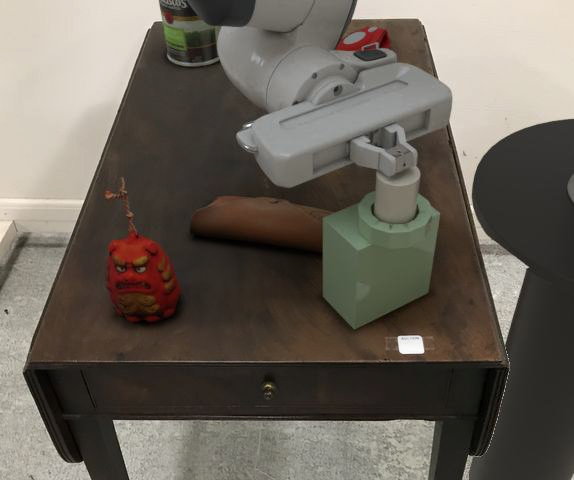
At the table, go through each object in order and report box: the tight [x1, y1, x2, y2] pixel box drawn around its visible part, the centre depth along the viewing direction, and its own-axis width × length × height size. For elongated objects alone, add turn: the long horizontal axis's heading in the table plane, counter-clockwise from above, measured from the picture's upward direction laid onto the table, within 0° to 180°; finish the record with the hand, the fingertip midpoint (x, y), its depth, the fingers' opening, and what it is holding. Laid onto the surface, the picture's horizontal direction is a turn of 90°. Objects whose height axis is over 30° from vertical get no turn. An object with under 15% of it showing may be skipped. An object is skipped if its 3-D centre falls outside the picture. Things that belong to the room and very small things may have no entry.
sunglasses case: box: [189, 195, 335, 254], centre depth 84 cm, size 18×7×7 cm
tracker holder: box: [336, 26, 392, 51], centre depth 114 cm, size 12×4×10 cm
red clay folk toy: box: [103, 176, 181, 323], centre depth 72 cm, size 8×7×15 cm
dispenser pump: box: [374, 165, 421, 224], centre depth 65 cm, size 4×4×5 cm
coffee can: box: [158, 0, 222, 68], centre depth 114 cm, size 10×10×14 cm
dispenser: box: [322, 190, 441, 330], centre depth 71 cm, size 10×8×13 cm
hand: (404, 164), depth 62 cm, fingers closed
